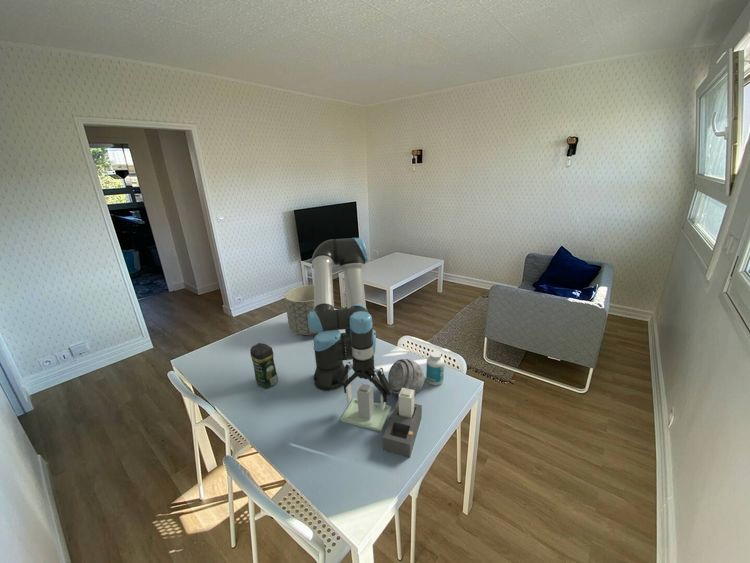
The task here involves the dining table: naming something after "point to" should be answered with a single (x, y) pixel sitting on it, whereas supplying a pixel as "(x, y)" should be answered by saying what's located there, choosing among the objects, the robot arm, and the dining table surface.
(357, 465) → the dining table surface
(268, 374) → the coffee jar
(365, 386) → the plug
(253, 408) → the dining table surface
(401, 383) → the decorative orb
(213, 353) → the dining table surface
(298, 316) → the planter
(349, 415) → the tray
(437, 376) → the pill bottle
